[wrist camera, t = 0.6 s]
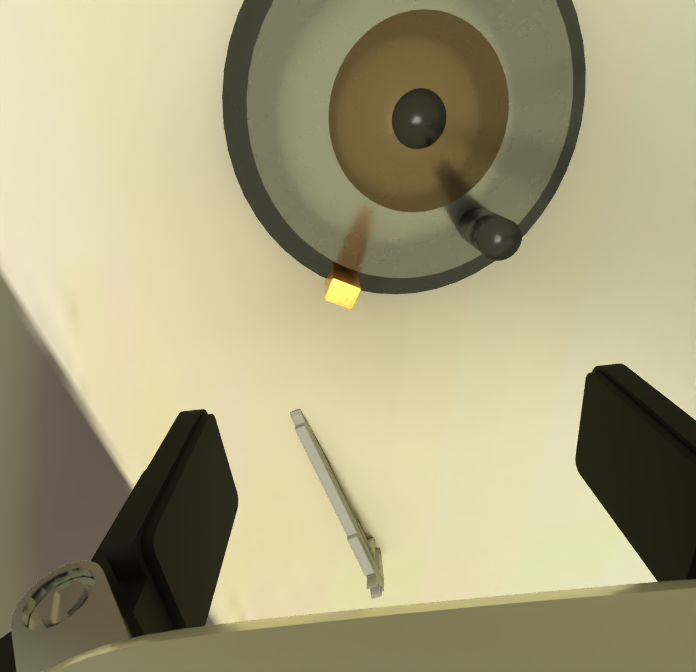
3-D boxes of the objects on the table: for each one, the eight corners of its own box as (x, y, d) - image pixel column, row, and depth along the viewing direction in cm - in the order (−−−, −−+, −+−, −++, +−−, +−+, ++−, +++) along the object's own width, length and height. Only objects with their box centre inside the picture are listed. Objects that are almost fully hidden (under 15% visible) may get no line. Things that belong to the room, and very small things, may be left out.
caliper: (381, 548, 47) (387, 604, 42) (372, 551, 48) (377, 607, 42) (300, 406, 40) (294, 451, 34) (289, 410, 40) (281, 455, 34)
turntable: (568, -103, 24) (650, -187, 18) (548, 250, 32) (599, 276, 26) (216, -44, 25) (177, -107, 18) (285, 287, 33) (274, 321, 27)
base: (592, -140, 25) (660, -214, 19) (563, 266, 34) (603, 288, 29) (181, -71, 25) (142, -125, 20) (268, 308, 35) (257, 336, 30)
